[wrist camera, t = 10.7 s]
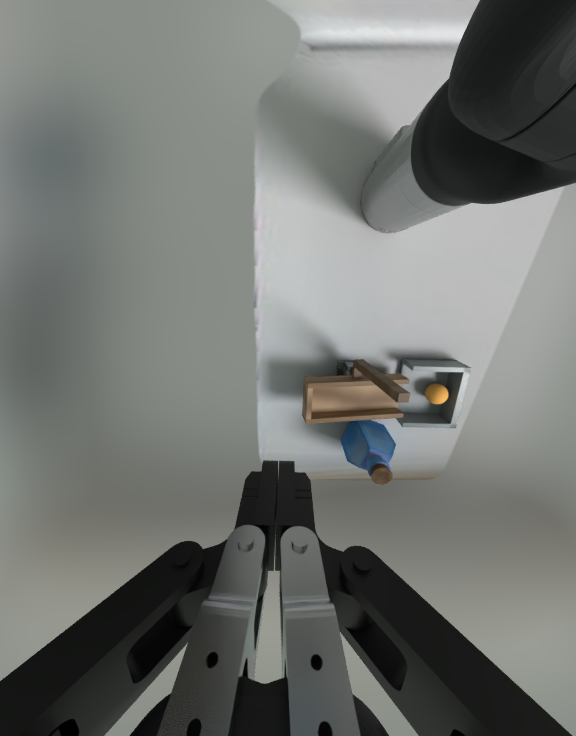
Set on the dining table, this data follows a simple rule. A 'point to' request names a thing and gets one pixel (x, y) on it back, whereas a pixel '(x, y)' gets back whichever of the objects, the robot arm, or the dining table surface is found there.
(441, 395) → the ball
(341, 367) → the fulcrum
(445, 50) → the dining table surface
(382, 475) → the perfume bottle
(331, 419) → the lever
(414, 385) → the tray
